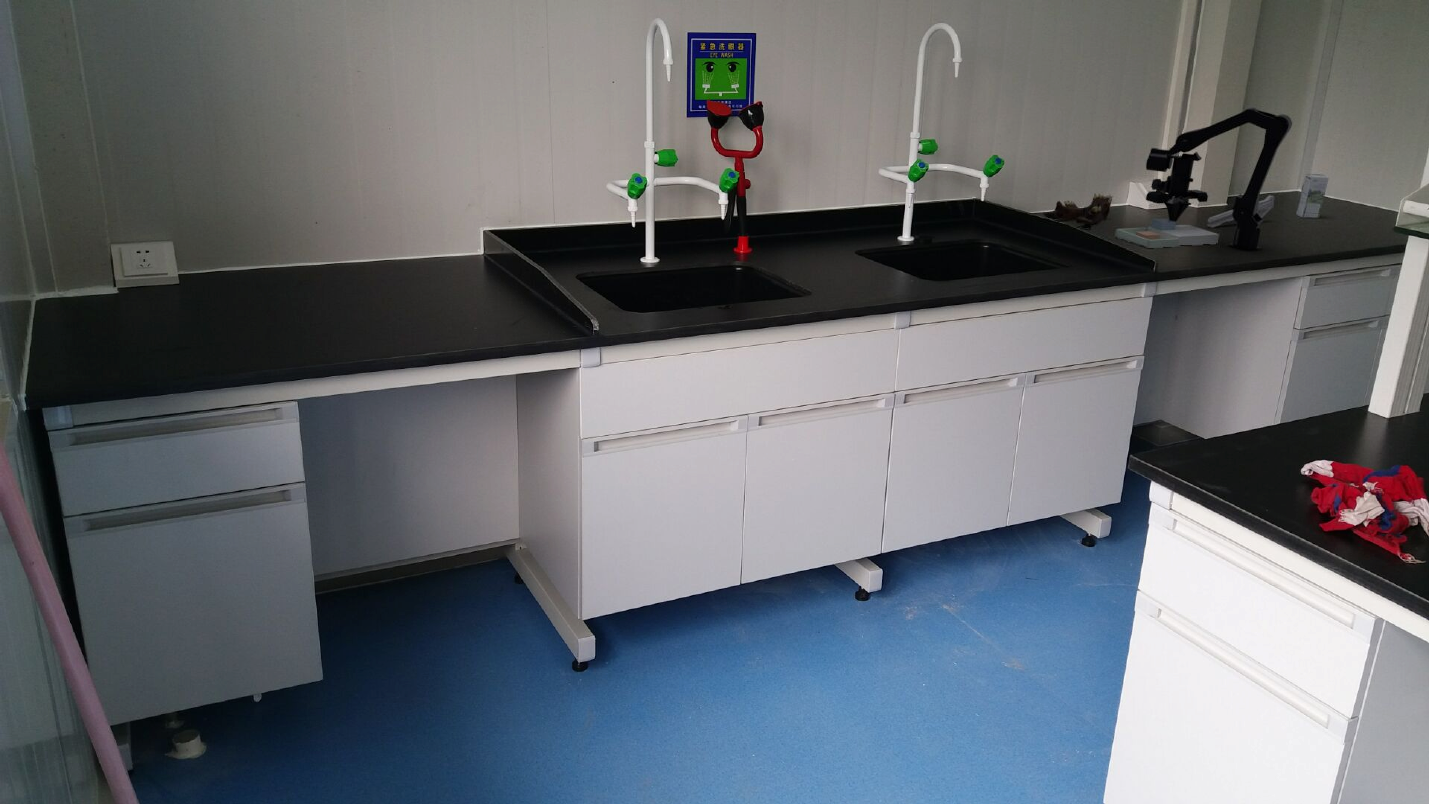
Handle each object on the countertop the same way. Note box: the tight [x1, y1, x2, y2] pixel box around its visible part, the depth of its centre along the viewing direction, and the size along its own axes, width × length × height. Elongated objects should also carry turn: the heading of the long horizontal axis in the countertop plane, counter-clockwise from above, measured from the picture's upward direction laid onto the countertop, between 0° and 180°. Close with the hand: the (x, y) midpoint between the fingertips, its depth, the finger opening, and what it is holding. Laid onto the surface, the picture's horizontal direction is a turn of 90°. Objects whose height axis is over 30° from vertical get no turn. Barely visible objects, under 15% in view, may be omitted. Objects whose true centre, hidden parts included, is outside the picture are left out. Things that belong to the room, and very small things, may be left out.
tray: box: [1114, 227, 1179, 249], centre depth 333 cm, size 16×11×2 cm
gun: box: [1206, 195, 1275, 229], centre depth 361 cm, size 2×30×8 cm, turn 118°
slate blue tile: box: [1150, 218, 1177, 230], centre depth 338 cm, size 5×5×2 cm
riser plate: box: [1147, 224, 1220, 247], centre depth 337 cm, size 14×15×3 cm
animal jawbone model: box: [1042, 193, 1113, 229], centre depth 357 cm, size 17×25×10 cm
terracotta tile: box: [1136, 230, 1160, 240], centre depth 331 cm, size 5×5×2 cm
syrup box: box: [1295, 173, 1330, 219], centre depth 374 cm, size 6×6×14 cm
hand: (1172, 224), depth 339 cm, fingers closed
